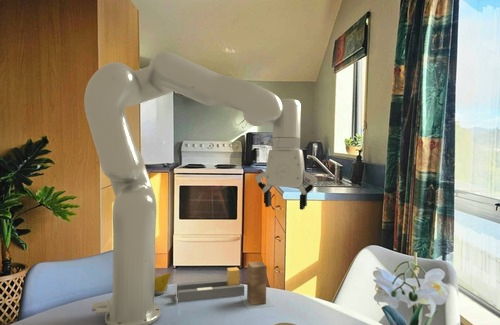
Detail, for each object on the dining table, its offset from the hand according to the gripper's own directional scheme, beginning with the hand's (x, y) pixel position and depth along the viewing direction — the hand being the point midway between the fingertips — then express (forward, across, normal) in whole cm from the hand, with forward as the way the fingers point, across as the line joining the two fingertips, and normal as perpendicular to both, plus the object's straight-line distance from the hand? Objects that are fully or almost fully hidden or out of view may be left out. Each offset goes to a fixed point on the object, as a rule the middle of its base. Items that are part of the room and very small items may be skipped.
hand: (284, 207), depth 90 cm
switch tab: (+24, -15, -1) cm, 28 cm away
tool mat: (+26, -6, -5) cm, 27 cm away
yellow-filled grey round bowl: (+26, -33, -10) cm, 43 cm away
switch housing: (+26, -20, -6) cm, 33 cm away
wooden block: (+25, -6, -5) cm, 26 cm away
